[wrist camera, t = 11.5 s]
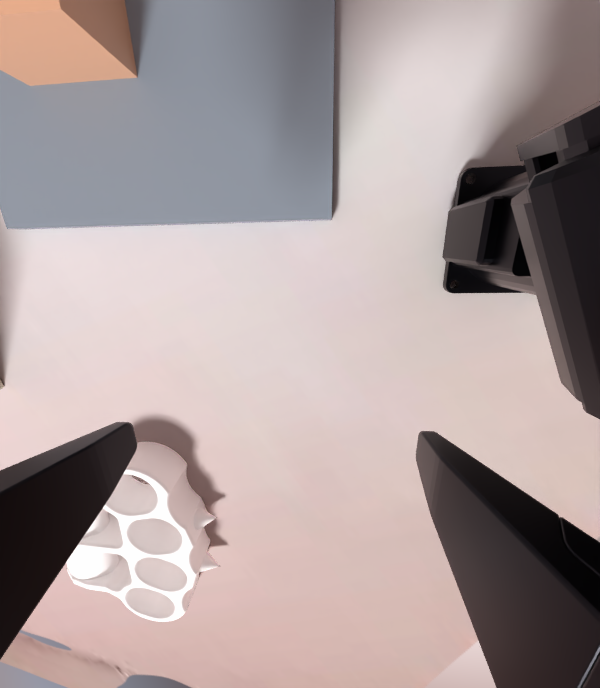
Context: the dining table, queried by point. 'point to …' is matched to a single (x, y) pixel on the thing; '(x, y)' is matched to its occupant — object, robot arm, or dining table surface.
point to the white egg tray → (147, 538)
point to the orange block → (65, 41)
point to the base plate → (182, 123)
